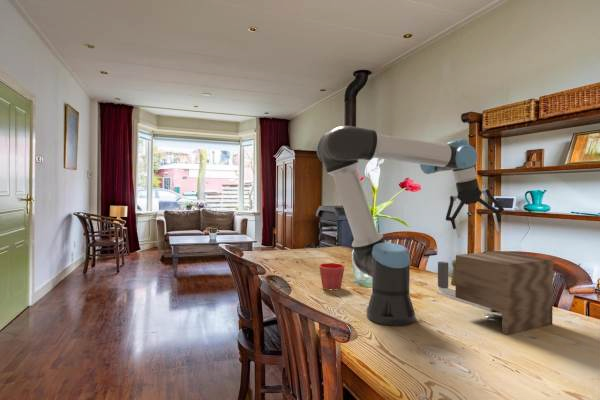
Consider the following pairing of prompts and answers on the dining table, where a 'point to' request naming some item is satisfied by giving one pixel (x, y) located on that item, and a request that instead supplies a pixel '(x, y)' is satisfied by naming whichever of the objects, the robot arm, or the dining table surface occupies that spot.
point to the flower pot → (331, 275)
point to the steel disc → (493, 317)
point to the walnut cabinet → (508, 287)
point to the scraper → (444, 286)
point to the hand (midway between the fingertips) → (478, 233)
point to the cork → (453, 280)
